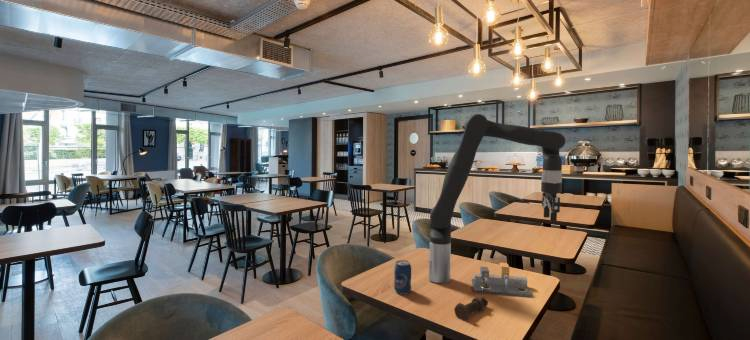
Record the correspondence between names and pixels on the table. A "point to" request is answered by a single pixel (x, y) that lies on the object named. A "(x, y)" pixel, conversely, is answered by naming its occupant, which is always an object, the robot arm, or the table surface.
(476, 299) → the dark brown lobed piece
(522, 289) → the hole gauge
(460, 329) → the table surface
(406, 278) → the soda can
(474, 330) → the table surface
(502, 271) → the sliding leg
